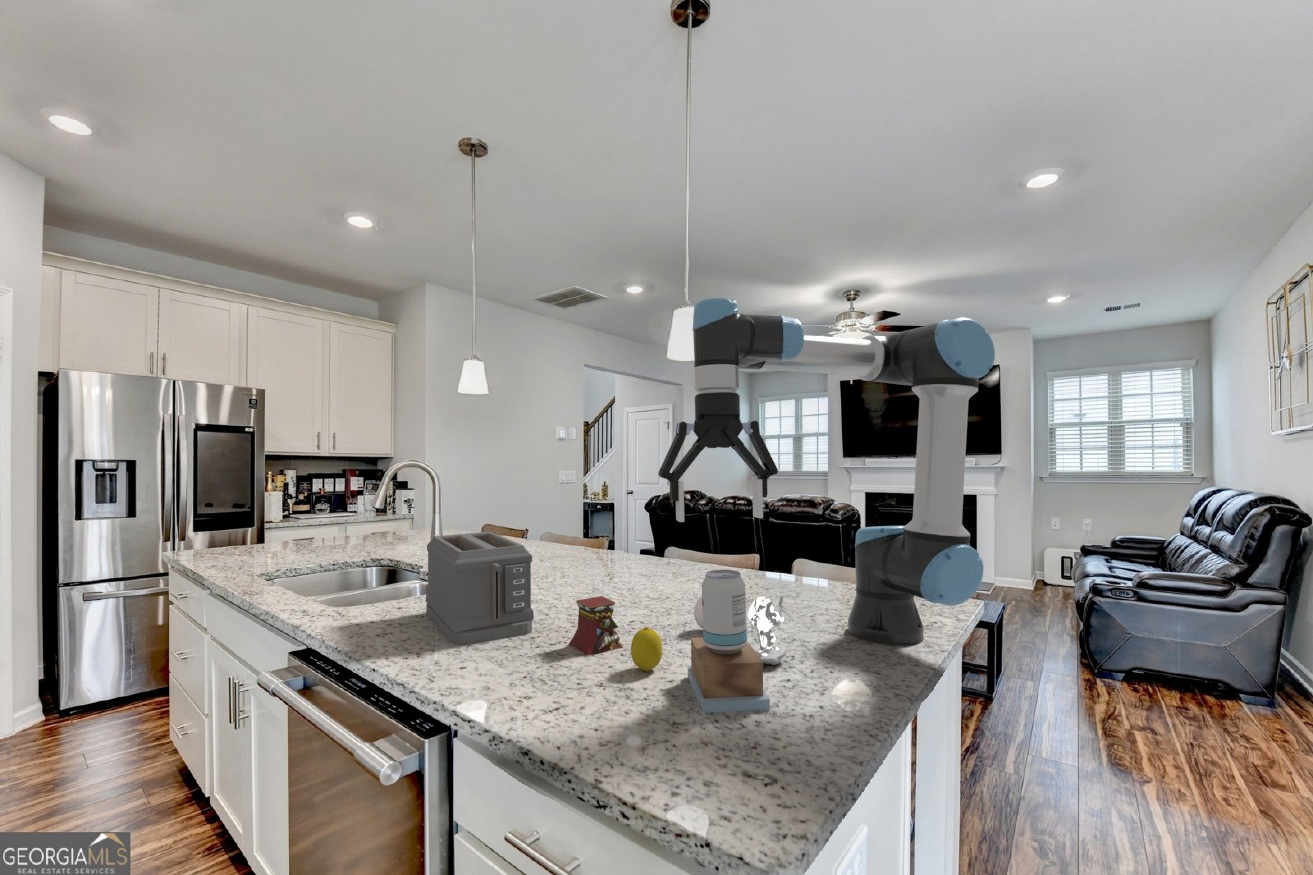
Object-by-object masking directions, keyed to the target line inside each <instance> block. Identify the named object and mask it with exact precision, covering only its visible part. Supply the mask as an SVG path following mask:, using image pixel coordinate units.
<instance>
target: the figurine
mask: <svg viewBox="0 0 1313 875" xmlns="http://www.w3.org/2000/svg"><path fill="white" fill-rule="evenodd" d="M783 601H784V596H783V595H781V596H780V597H779V599H778V604H777V610H775V608H774V606H773V601H771V600H770V599H769V598H768V596H767V597H766V596H761V597H756V598H755V599H754V600H753V602H752V604H751V605H750V607H749V609H748V620H749V621H750V627H751V631H752V633H753V632H755V633H756V635H757V637H758V642H761V643H760V645H759V648H758V649H757V650H754V651H755V652H756V654H757V655H758V656H759V658H760V659H761V660H762V662H763V664H765V665H769V664H771V666H775V665H778V664H779V663H780V662H781V661H782V659H783V658H784V657H785V656H786V654H787V647H786V646H784V645H783V644H779V643H775V641H776V640H777V639H776V635H775V634H774V631H773V630H772V627H773V628H776V627H777V628H778V629H780V625H781V624H782V623H783V622H784V621H785V618H784V616H782V615H781V614H782V613H785V611H784V610H783V608H785V606H783ZM781 612H782V613H781ZM753 627H754V628H753ZM753 630H754V631H753Z"/></svg>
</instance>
